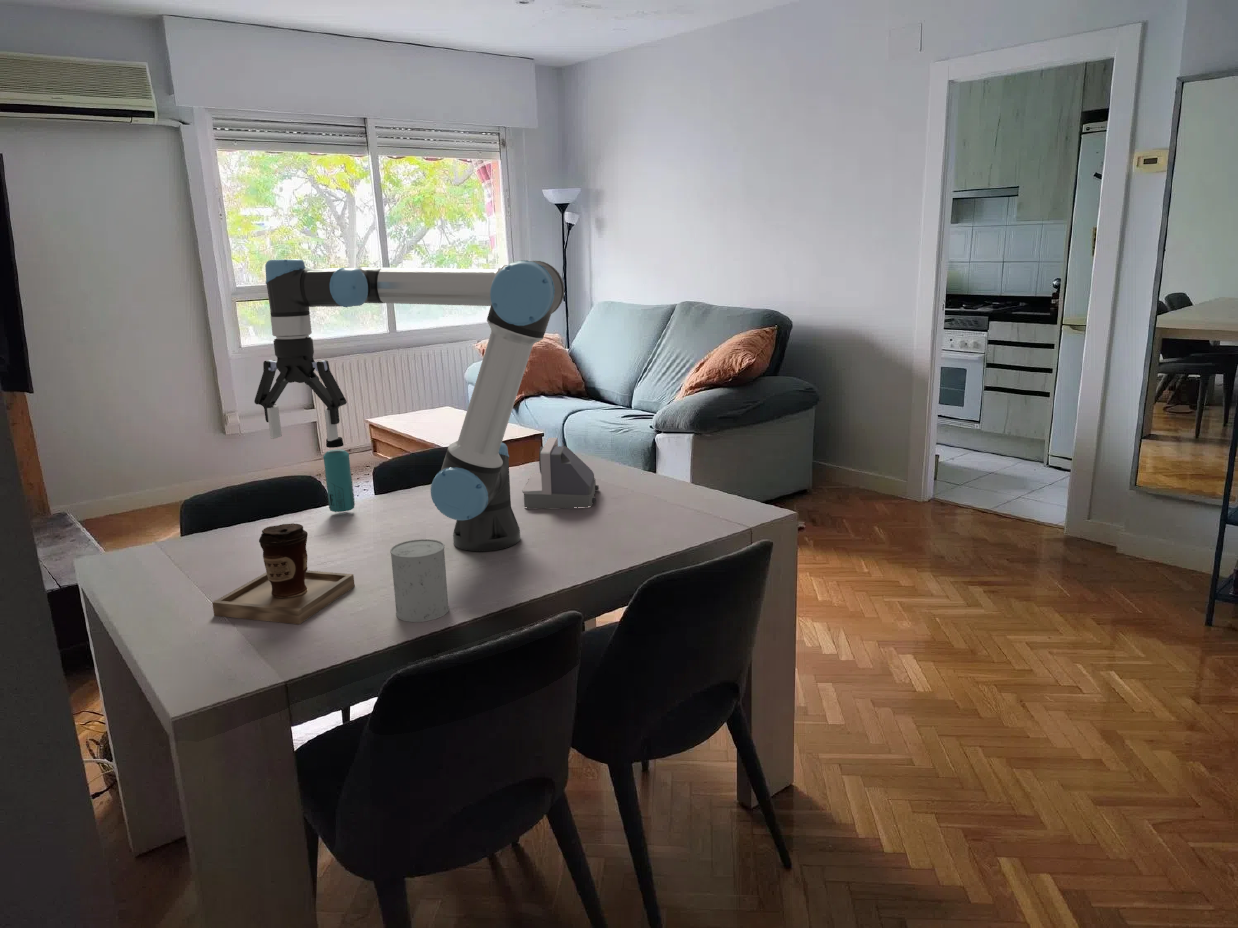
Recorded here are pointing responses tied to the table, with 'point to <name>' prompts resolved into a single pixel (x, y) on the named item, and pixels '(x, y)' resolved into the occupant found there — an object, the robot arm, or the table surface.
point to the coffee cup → (285, 559)
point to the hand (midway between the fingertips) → (304, 438)
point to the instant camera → (560, 480)
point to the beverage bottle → (338, 477)
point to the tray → (263, 606)
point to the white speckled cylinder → (419, 580)
